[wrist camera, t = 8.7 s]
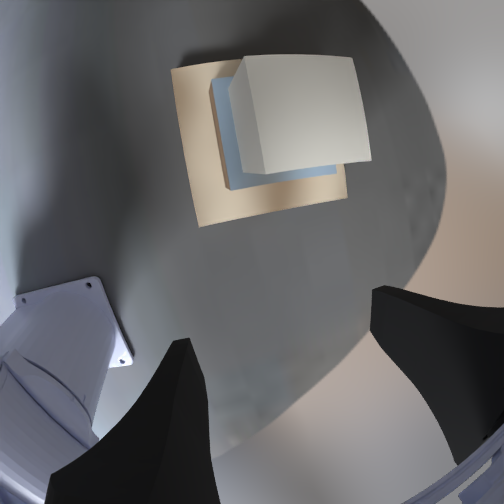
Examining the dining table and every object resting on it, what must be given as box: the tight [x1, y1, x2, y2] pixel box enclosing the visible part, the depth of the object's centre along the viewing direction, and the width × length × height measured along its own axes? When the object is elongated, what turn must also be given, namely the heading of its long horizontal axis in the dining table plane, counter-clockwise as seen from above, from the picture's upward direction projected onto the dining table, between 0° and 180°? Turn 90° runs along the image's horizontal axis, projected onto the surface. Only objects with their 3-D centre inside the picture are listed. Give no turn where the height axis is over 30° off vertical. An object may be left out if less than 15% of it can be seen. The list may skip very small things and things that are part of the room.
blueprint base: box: [171, 59, 347, 227], centre depth 15 cm, size 10×10×4 cm
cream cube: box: [228, 54, 371, 174], centre depth 11 cm, size 4×4×4 cm
